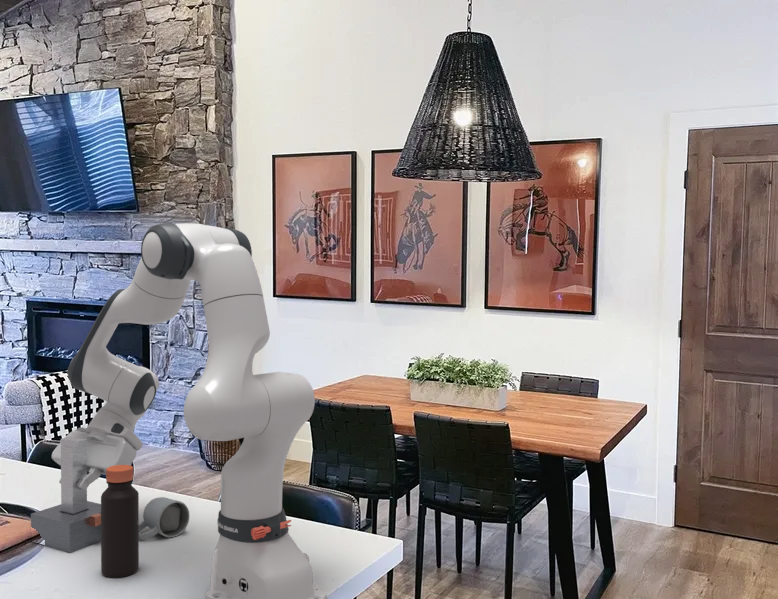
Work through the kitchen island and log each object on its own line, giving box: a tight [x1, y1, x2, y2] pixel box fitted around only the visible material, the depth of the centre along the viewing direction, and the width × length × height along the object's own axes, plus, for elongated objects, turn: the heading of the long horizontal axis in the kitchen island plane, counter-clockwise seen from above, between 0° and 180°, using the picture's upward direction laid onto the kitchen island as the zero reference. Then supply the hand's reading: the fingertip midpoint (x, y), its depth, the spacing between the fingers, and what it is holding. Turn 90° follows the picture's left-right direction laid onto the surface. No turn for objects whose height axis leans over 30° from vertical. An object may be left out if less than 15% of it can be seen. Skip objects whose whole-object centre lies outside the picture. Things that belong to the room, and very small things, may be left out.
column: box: [60, 436, 88, 515], centre depth 164 cm, size 5×4×21 cm
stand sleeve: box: [30, 500, 101, 554], centre depth 164 cm, size 14×12×6 cm
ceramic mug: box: [139, 496, 190, 541], centre depth 168 cm, size 11×8×8 cm
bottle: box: [100, 465, 140, 579], centre depth 148 cm, size 7×7×20 cm
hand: (71, 486), depth 164 cm, fingers open, 4 cm apart
